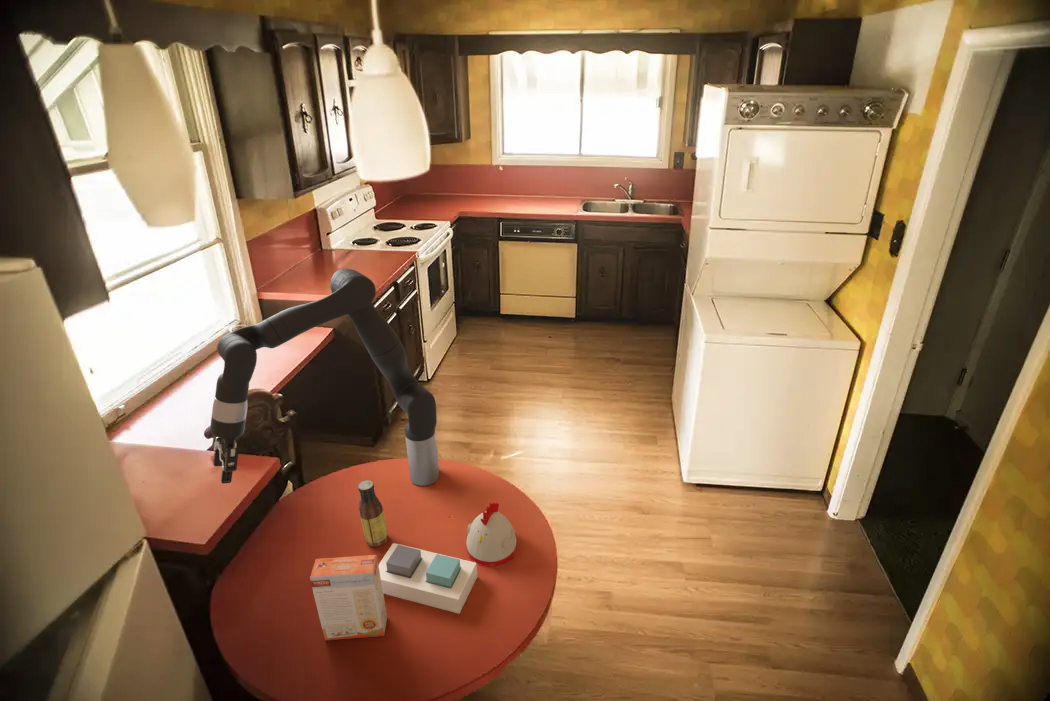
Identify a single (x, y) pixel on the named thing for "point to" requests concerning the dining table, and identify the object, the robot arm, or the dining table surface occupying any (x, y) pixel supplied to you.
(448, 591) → the key housing
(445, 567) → the teal key
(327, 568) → the cracker box
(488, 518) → the kitchen timer
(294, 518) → the dining table surface
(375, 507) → the sauce bottle
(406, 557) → the charcoal key
